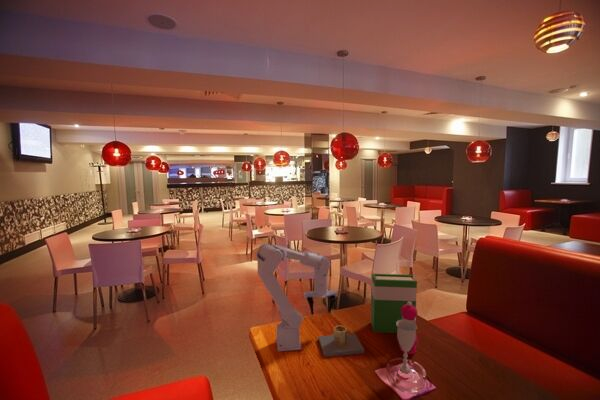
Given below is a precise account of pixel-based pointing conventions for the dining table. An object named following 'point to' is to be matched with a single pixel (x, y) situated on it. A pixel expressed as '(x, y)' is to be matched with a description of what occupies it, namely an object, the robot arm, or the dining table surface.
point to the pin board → (334, 350)
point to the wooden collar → (340, 335)
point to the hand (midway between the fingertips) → (320, 312)
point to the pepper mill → (410, 314)
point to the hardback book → (390, 300)
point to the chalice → (406, 340)
